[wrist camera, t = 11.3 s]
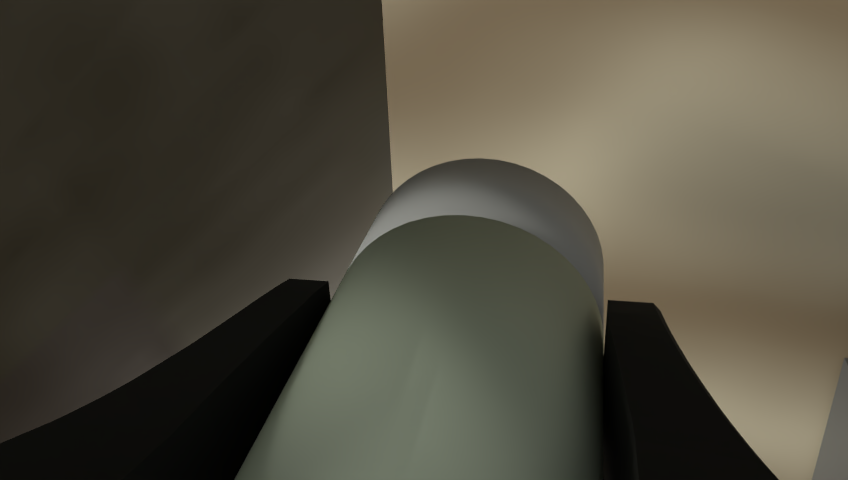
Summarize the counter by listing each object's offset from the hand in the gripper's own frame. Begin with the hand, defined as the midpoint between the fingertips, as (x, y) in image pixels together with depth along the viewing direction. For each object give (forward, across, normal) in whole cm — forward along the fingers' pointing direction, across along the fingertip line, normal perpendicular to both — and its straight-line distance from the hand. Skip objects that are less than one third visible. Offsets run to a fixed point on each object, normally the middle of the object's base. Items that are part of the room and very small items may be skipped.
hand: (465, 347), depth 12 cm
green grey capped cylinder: (+2, 0, 0) cm, 2 cm away
